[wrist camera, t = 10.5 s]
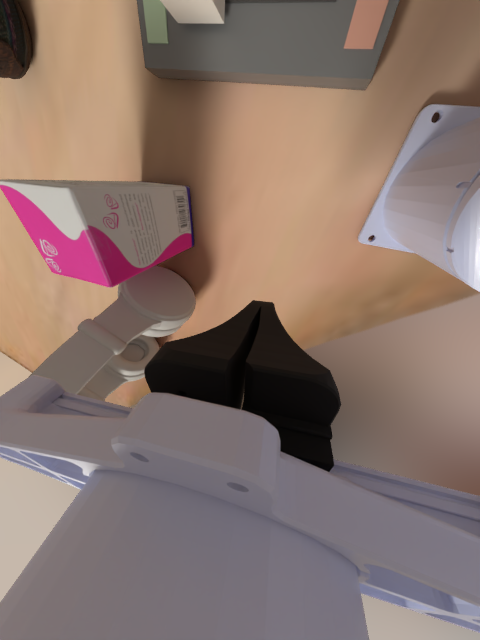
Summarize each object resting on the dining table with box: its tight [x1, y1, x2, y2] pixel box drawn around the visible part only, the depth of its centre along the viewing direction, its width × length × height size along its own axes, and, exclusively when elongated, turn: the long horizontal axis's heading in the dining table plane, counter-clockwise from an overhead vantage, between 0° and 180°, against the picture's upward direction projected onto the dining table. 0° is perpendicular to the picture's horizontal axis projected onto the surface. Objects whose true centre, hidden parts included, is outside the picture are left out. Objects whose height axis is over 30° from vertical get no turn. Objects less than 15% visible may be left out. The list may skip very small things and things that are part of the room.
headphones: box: [29, 266, 196, 401], centre depth 22 cm, size 20×8×19 cm, turn 144°
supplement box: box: [0, 180, 194, 287], centre depth 15 cm, size 6×6×12 cm
